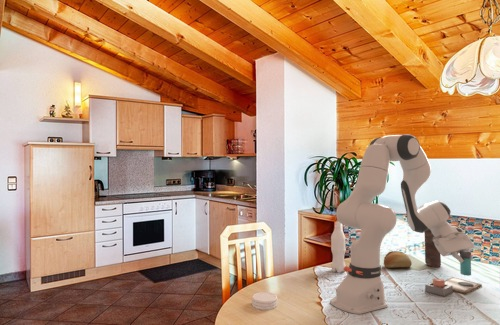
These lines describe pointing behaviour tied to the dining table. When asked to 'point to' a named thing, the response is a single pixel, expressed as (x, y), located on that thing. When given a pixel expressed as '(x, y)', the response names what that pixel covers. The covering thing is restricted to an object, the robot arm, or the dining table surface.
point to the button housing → (438, 289)
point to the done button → (439, 283)
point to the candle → (431, 251)
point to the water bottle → (338, 248)
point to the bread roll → (397, 260)
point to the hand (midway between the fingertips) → (467, 261)
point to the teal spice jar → (465, 263)
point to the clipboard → (462, 285)
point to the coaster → (264, 301)
